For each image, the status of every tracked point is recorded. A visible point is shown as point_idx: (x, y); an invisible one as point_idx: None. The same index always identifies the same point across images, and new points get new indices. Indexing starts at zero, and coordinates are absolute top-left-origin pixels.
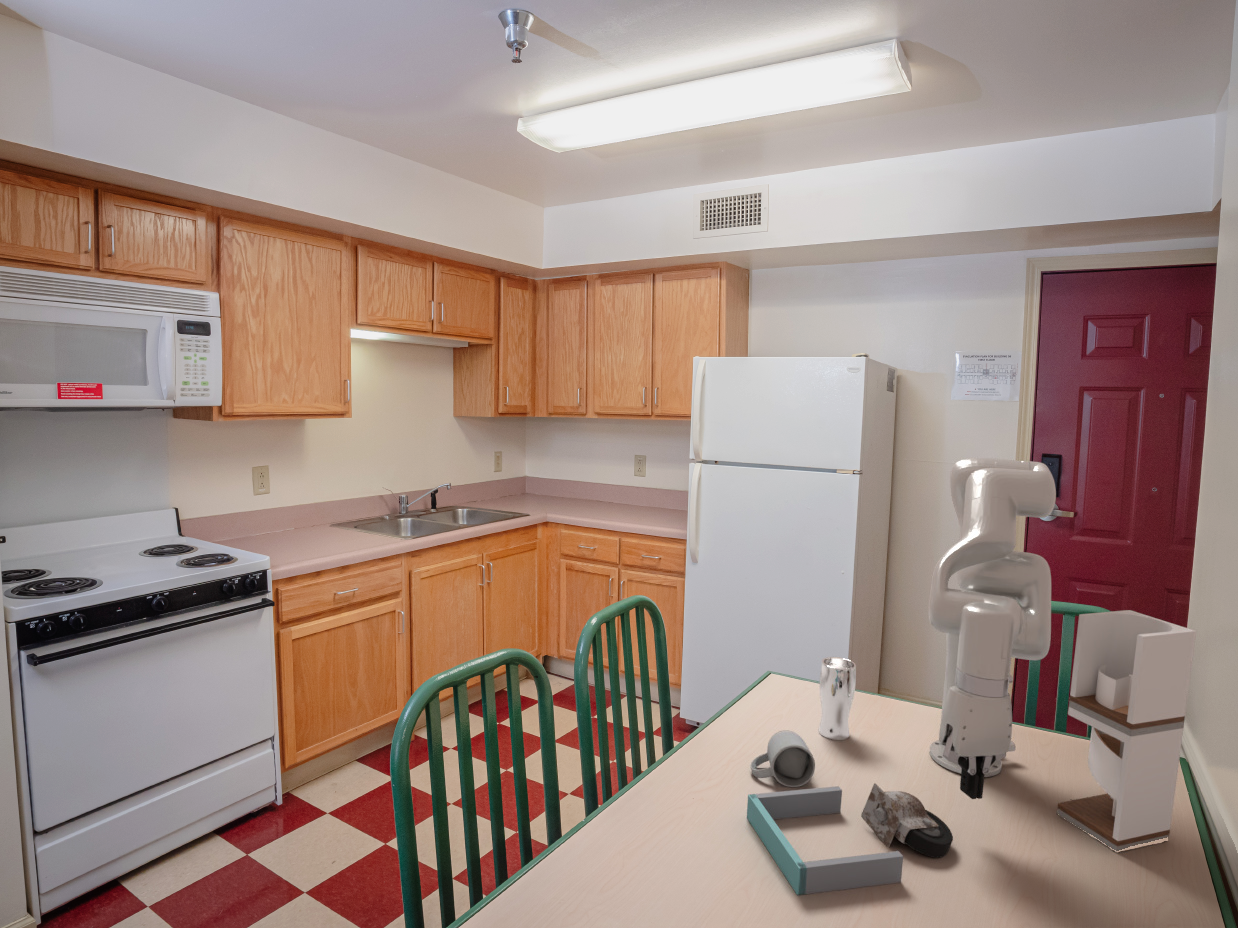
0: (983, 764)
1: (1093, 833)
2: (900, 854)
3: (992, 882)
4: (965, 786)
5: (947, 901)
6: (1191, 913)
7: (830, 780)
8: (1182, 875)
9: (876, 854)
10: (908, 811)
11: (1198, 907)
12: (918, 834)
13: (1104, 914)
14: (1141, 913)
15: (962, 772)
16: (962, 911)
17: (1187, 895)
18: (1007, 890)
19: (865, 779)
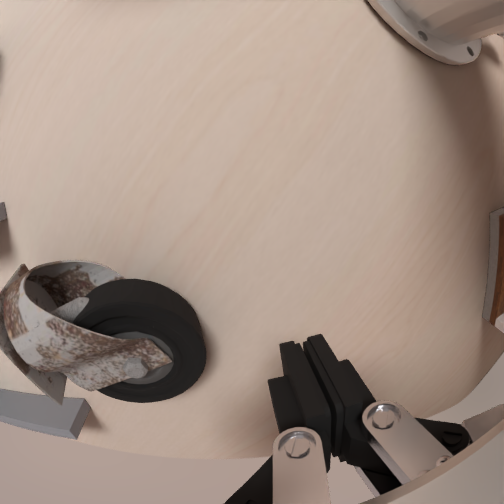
0: (369, 486)
1: (492, 285)
2: (73, 435)
3: (242, 417)
4: (274, 411)
5: (150, 439)
6: (447, 405)
7: (25, 77)
8: (496, 345)
9: (41, 426)
10: (83, 362)
11: (461, 394)
12: (109, 395)
13: None
14: None
15: (280, 432)
16: (166, 451)
17: (470, 379)
18: (257, 428)
19: (104, 45)
